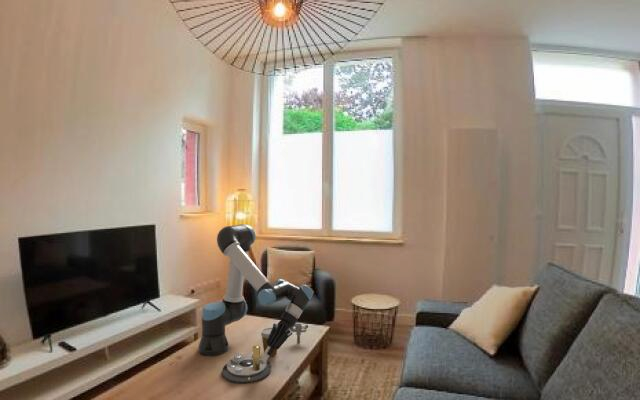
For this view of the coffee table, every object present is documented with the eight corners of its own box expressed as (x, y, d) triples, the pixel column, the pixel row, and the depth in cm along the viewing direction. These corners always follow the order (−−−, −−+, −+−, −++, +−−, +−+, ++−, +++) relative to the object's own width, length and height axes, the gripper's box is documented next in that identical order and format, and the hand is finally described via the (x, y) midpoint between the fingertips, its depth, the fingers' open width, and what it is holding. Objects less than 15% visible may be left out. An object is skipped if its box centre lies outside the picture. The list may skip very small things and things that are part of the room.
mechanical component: (307, 343, 205) (307, 325, 205) (288, 343, 205) (289, 325, 205) (307, 341, 208) (308, 323, 207) (289, 341, 208) (289, 323, 208)
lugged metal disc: (219, 366, 174) (219, 341, 173) (252, 355, 186) (252, 331, 186) (240, 381, 161) (240, 354, 160) (274, 368, 173) (274, 342, 173)
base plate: (214, 369, 175) (214, 365, 175) (255, 356, 189) (255, 352, 189) (236, 389, 158) (236, 384, 158) (280, 372, 172) (280, 368, 172)
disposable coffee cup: (283, 354, 192) (283, 331, 191) (268, 360, 185) (269, 336, 184) (271, 348, 198) (271, 326, 198) (257, 354, 191) (257, 331, 191)
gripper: (304, 322, 177) (275, 369, 166) (287, 315, 186) (260, 360, 176) (295, 314, 173) (265, 361, 162) (278, 307, 182) (249, 352, 172)
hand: (262, 360), depth 169 cm, fingers closed
